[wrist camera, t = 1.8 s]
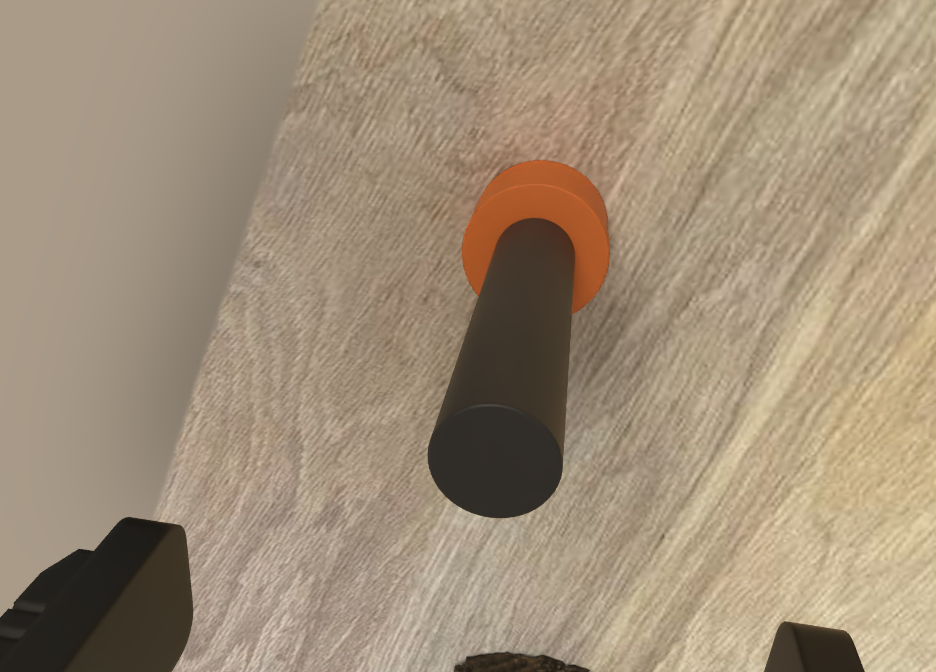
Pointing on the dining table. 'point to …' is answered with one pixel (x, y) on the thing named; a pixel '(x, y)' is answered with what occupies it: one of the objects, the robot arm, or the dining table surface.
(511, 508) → the sponge stick
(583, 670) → the nut kernel
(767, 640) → the dining table surface
